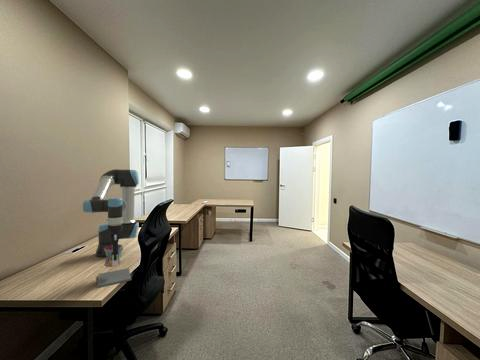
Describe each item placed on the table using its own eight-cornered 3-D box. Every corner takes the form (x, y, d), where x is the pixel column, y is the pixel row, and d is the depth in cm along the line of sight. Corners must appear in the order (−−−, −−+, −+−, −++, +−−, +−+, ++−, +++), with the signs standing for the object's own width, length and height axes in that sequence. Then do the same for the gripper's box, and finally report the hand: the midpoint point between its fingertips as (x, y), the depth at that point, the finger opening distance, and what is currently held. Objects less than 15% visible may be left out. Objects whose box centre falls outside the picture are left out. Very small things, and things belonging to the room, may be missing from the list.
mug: (113, 269, 117) (114, 250, 117) (99, 267, 119) (99, 248, 118) (128, 260, 129) (129, 243, 129) (115, 259, 130) (115, 242, 130)
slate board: (98, 275, 126) (98, 273, 126) (128, 269, 134) (128, 268, 134) (97, 287, 112) (97, 285, 112) (131, 280, 121) (131, 278, 121)
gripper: (107, 221, 130) (106, 258, 130) (107, 228, 112) (107, 271, 112) (121, 220, 134) (120, 255, 134) (123, 227, 116) (123, 268, 116)
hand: (114, 262), depth 123 cm, fingers closed on mug, 8 cm apart
